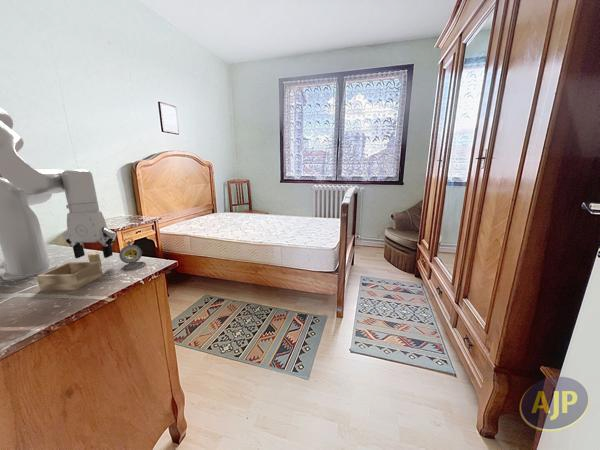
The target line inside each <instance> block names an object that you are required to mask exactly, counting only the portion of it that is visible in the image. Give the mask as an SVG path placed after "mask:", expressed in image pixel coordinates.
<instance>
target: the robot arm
mask: <svg viewBox="0 0 600 450" xmlns="http://www.w3.org/2000/svg"><path fill="white" fill-rule="evenodd" d="M13 127H14V122H13V119H12V117H11V115H10V114H9V113H8V112H7V111H6V110H4V109H3V108H1V107H0V249H1V253H2V255H3V259H4V261H2V263H1V264H0V270H1V269H3V270H4V271H5V272H4V273H3V274H2V275H1V279H2V280H4V281H10V280H11V281H12V280H21V279H25V278H26V279H27V278H32V277H35V276H36V277H37V276H38V275H40V274H42V273H45V272H47V271H50V270H52V269H54V268H57V267H58V265H57V264H56V262H50V259H49V256H48V252H47V248H46V243H45V241H44V235H43V232H42V229H41V225H40V220H39V219H38V216H37V214H36V213H35V212H34V210H33V209H32V208H31V207H30V206H34V205H39V204H40V205H41V204H43V203H46V202H48V201H49V200H50V199H51V198H52V195H53V194H60V193H64V194H65V198H66V202H67V204H66V206H65V207H66V209H67V210H68V212H67V214H66V227H67V228H66V229H67V231H66V232H64V233H62V234H61V235H62V237H63V238H64V240H65V242H66V243H67V244H69V246H70V247H71V248H72V252H73V254H74V259H80V258H81V257H84V256H85V255H86V254H85V250H84V245H83V243H88V244H89V243H100V244H101V245H102V247H101V248H102V249H101V250H102V253H103V258H105V259H106V258H110V257H111V256H113V248H112V245H113V244H114V242H115V240H116V237H117V235H118V234H117V232H115V231H113V230H111V229H108V226H107V222H106V220H105V217H104V215H103V212H102V210H100V209H99V202H98V197H97V192H96V187H95V182H94V177H93V174H92V172H91V171H90V170H86V169H48V168H43V169H42V168H41V169H39V168H38V169H36V168H34V167H33V166H31V164H29V163H28V162H26V160H24V159H23V158H22V157H21V156H20V155H19V154H18V152H19V151H20V150H21V149H22V148H23V147H24V143H25V142H24V139H23V138H22V137H21V136H20V135H19V134H17V133H16V132H15V131H14V130H12V129H13Z"/></svg>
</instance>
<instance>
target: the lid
mask: <svg viewBox="0 0 600 450" xmlns="http://www.w3.org/2000/svg"><path fill="white" fill-rule="evenodd" d="M87 257H88V262H100V263H101V267H102V266H103V265H102V261H101V257H100V253H99V252H93V253H89V254H88V256H87Z"/></svg>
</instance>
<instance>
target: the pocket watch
mask: <svg viewBox="0 0 600 450" xmlns="http://www.w3.org/2000/svg"><path fill="white" fill-rule="evenodd" d="M126 240H128V241H126ZM130 240H131V241H130ZM133 240H134V239H133V238H132V237H131V238H129V237H128V238H125V239H124V240H123V243H125V244H127V245H126V246H124V247H123V248H121V250H120V252H119V256H118V257H119V259H120V260H121V261H122V262H123V263H125V264H126V265H123V267H122V268H123V270H125V271H133V270H138V269H141V268H143V267H145V266H146V264H147V263H146V262H145V261H140V259H141V258H142V255H143V251H142V249H141V248H140V247H139V246H138V245H135V244H131V243H133ZM135 264H142V265H141V266H138V267H133V268H126V267H128V266H131V265H135Z"/></svg>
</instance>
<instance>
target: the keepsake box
mask: <svg viewBox="0 0 600 450" xmlns="http://www.w3.org/2000/svg"><path fill="white" fill-rule="evenodd" d="M101 265H102V262H101V263H100V262H89V261H85V262H83V261H81V262H80V261H79V262H67V263H64V264H62V265H60V266H57V267H56V268H54V269H52V270H50V271H47V272H45V273H42V274H40V275H36V280H37V283H38V287H39V291H43V292H44V291H77V290H79V289H80V288H83V287H84V286H86V285H87V284H89V283H91V282H94V281H95V280H97V279H98V278H100V277H102V276H103V275H104V273H103V269H102V266H101Z"/></svg>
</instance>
